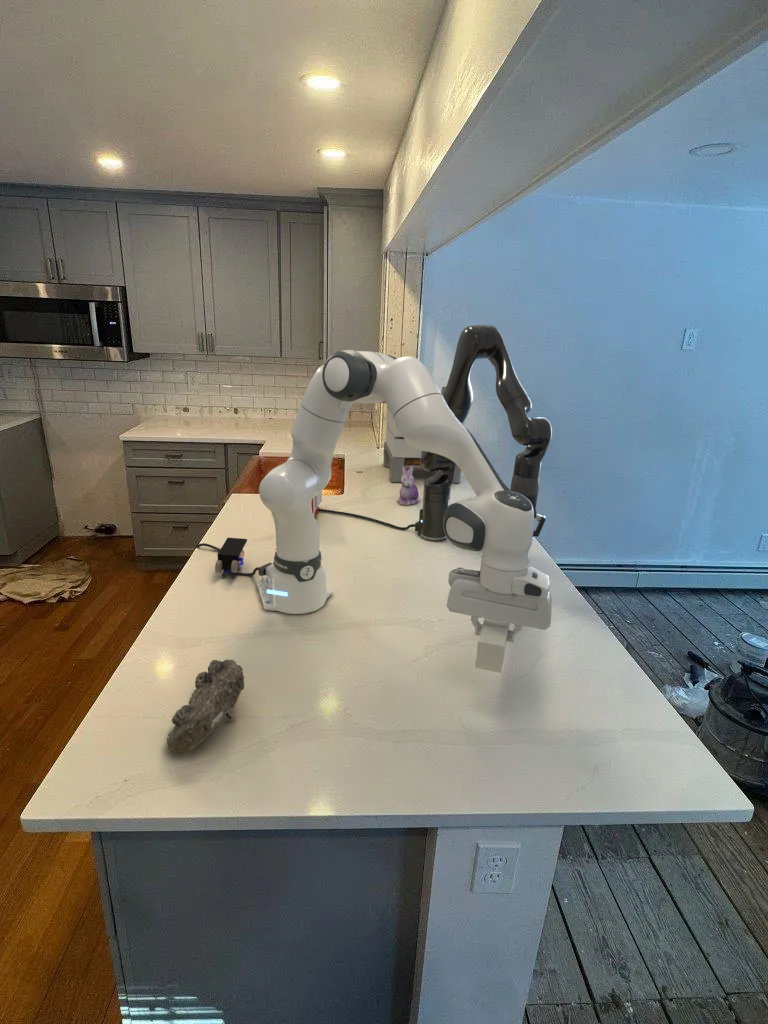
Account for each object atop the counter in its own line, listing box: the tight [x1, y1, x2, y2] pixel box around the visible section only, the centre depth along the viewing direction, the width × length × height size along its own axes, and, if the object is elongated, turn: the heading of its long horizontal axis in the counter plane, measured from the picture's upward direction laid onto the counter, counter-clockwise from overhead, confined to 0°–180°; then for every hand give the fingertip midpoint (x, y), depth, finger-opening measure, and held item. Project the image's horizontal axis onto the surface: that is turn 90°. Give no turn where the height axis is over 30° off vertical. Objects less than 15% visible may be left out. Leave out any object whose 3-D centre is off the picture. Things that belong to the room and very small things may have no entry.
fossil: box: [166, 658, 245, 754], centre depth 106 cm, size 22×10×15 cm
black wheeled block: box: [214, 537, 248, 578], centre depth 166 cm, size 7×8×15 cm
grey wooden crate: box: [383, 386, 466, 484], centre depth 268 cm, size 34×33×41 cm
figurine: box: [398, 466, 420, 506], centre depth 230 cm, size 9×10×15 cm
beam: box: [474, 618, 512, 674], centre depth 138 cm, size 68×5×6 cm, turn 163°
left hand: (494, 637), depth 114 cm, fingers closed on beam, 5 cm apart
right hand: (516, 546), depth 162 cm, fingers closed on beam, 5 cm apart
